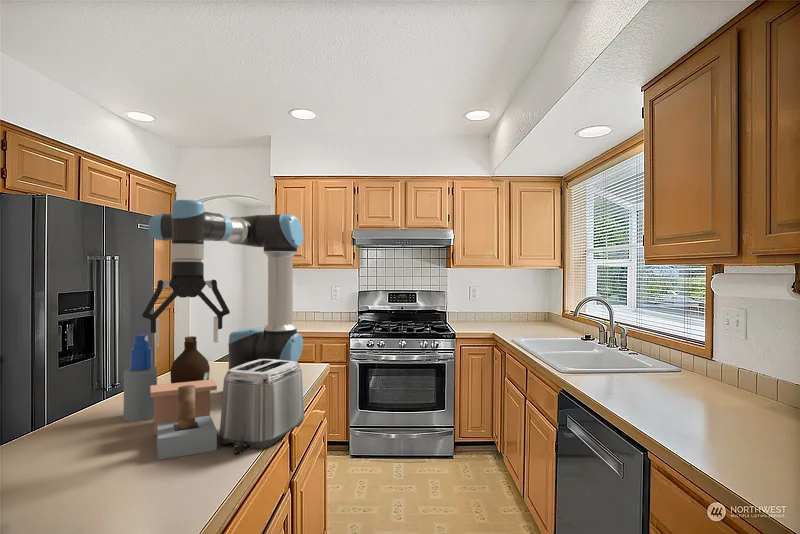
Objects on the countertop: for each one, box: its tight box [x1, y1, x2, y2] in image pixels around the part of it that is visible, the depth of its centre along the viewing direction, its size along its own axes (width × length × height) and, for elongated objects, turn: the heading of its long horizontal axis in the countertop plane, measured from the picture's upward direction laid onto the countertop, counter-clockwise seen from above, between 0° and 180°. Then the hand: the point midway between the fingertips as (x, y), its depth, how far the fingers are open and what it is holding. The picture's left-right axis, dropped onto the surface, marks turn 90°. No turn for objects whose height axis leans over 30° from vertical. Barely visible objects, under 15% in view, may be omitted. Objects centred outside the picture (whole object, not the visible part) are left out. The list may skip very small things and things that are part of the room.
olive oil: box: [170, 335, 211, 384], centre depth 139 cm, size 11×11×25 cm
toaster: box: [219, 359, 305, 456], centre depth 128 cm, size 17×30×19 cm, turn 164°
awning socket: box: [150, 378, 218, 461], centre depth 123 cm, size 16×20×13 cm
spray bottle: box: [123, 333, 158, 422], centre depth 143 cm, size 9×9×25 cm
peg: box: [178, 385, 195, 431], centre depth 120 cm, size 4×4×15 cm
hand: (187, 344), depth 120 cm, fingers open, 13 cm apart
